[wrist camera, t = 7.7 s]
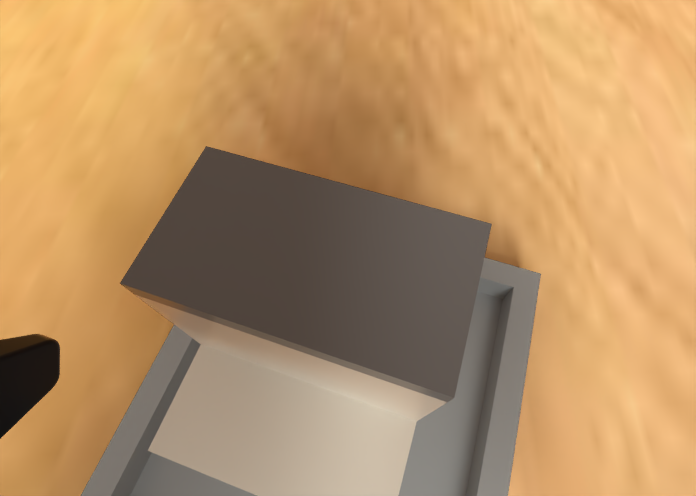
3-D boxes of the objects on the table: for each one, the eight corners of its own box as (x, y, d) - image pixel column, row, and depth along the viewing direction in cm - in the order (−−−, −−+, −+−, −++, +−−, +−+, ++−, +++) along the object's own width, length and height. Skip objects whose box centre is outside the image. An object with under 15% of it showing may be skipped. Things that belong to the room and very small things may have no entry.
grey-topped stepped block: (371, 508, 16) (408, 612, 5) (237, 454, 16) (19, 444, 6) (413, 352, 18) (497, 195, 7) (295, 313, 19) (219, 123, 8)
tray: (448, 741, 13) (464, 788, 11) (75, 561, 15) (36, 576, 14) (523, 291, 20) (540, 273, 18) (257, 212, 22) (248, 189, 20)
